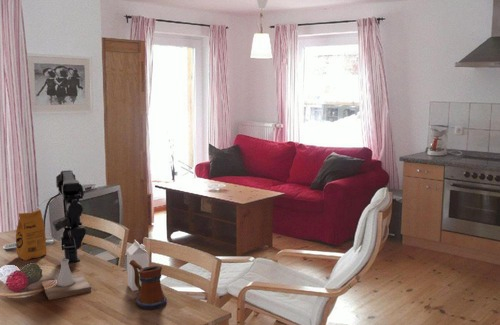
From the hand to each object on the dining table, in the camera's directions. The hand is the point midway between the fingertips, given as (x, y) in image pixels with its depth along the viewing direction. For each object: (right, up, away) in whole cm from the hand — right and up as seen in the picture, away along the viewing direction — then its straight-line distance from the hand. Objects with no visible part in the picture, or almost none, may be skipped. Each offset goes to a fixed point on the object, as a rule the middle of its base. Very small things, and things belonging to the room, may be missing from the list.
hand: (75, 246), depth 225 cm
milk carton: (+30, -15, -10) cm, 35 cm away
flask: (0, -13, -13) cm, 18 cm away
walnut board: (+1, -15, -12) cm, 20 cm away
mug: (+35, -17, -24) cm, 46 cm away
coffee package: (-29, -9, +26) cm, 41 cm away
